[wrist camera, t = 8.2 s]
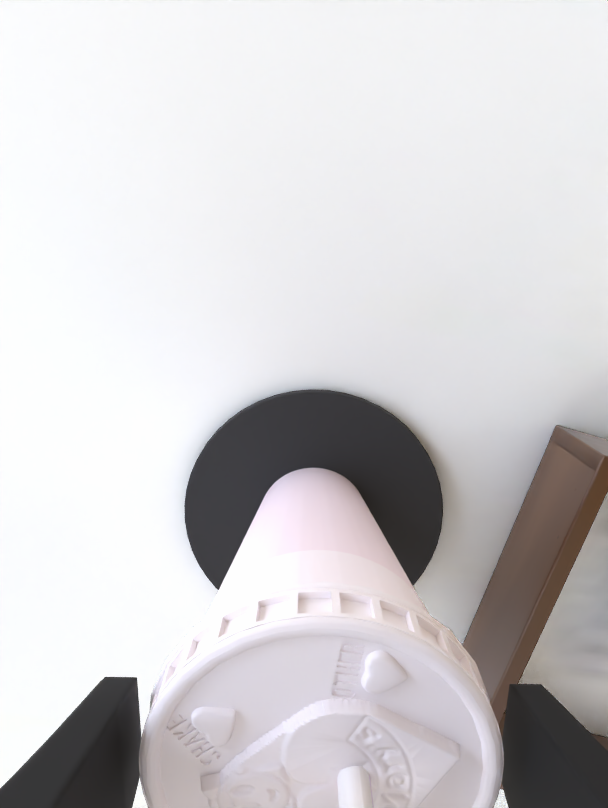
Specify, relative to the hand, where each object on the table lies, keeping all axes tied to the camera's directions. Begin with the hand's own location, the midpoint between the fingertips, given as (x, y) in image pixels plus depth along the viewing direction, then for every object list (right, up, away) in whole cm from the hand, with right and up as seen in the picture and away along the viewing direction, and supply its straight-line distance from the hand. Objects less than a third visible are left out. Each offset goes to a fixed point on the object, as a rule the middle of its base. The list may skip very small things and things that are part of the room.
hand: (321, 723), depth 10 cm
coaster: (0, +2, +9) cm, 9 cm away
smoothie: (0, +2, +8) cm, 9 cm away
